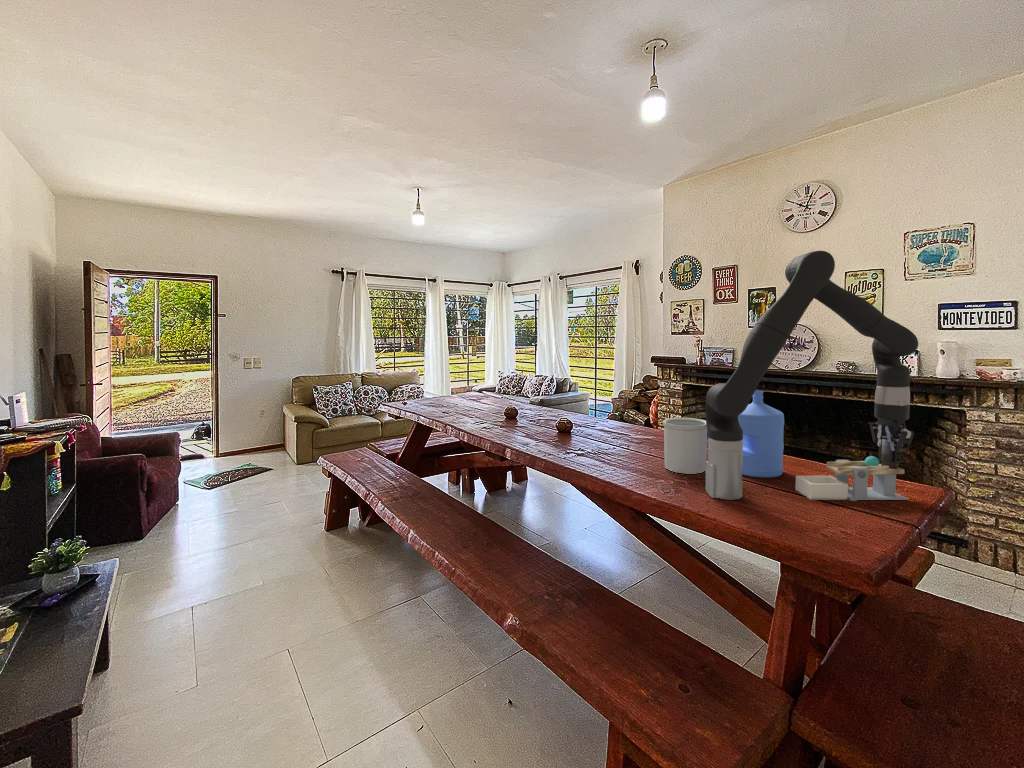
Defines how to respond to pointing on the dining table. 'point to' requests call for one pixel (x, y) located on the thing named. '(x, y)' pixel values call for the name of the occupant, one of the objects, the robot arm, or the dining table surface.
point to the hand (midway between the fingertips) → (889, 461)
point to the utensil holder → (685, 445)
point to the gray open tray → (821, 488)
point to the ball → (872, 461)
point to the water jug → (762, 439)
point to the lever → (882, 468)
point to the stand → (879, 491)
